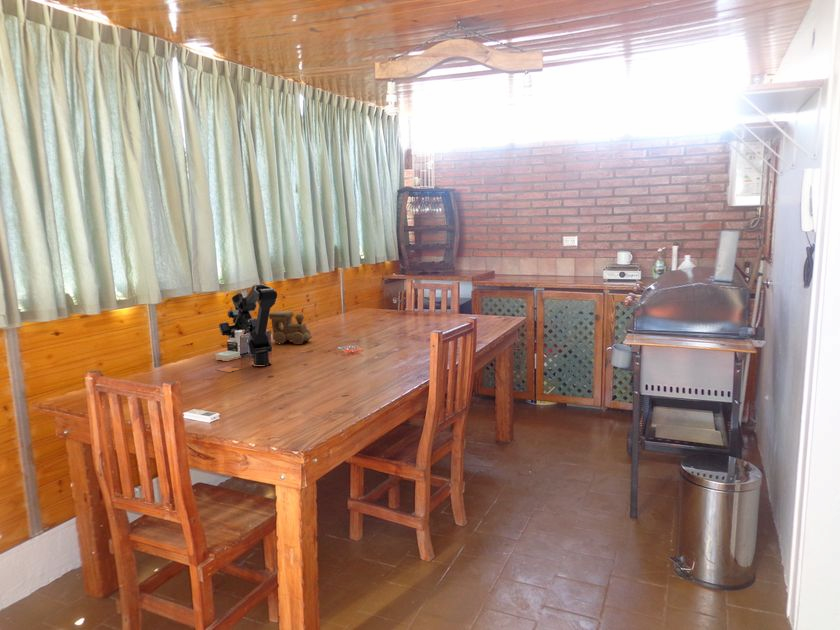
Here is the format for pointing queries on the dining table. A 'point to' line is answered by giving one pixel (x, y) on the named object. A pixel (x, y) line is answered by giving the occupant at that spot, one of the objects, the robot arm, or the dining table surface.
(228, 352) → the base block
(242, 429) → the dining table surface
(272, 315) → the wooden toy train
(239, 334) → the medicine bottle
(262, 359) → the robot arm
